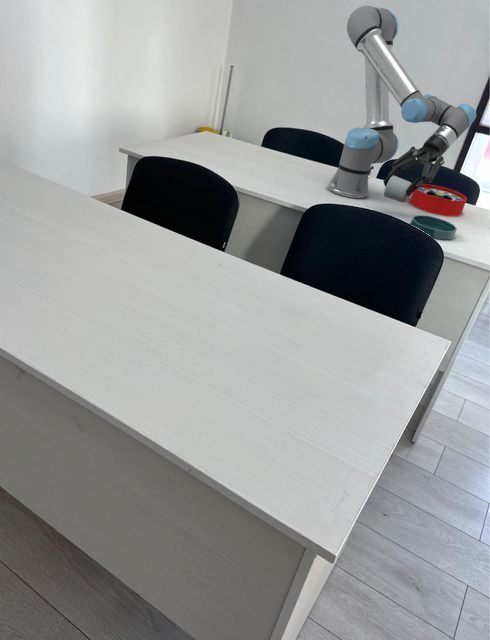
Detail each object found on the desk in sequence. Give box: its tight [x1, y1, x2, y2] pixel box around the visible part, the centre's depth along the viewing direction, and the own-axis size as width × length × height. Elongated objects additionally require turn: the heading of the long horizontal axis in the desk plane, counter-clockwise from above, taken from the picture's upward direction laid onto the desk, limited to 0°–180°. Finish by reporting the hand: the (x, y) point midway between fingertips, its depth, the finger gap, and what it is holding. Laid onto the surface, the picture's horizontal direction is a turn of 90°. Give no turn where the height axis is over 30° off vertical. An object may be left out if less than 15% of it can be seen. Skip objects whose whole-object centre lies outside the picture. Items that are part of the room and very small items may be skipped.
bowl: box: [409, 214, 458, 241], centre depth 199 cm, size 15×15×3 cm
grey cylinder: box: [383, 176, 413, 203], centre depth 206 cm, size 11×8×8 cm
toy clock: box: [409, 183, 468, 217], centre depth 226 cm, size 20×6×20 cm
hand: (395, 188), depth 203 cm, fingers closed on grey cylinder, 9 cm apart
